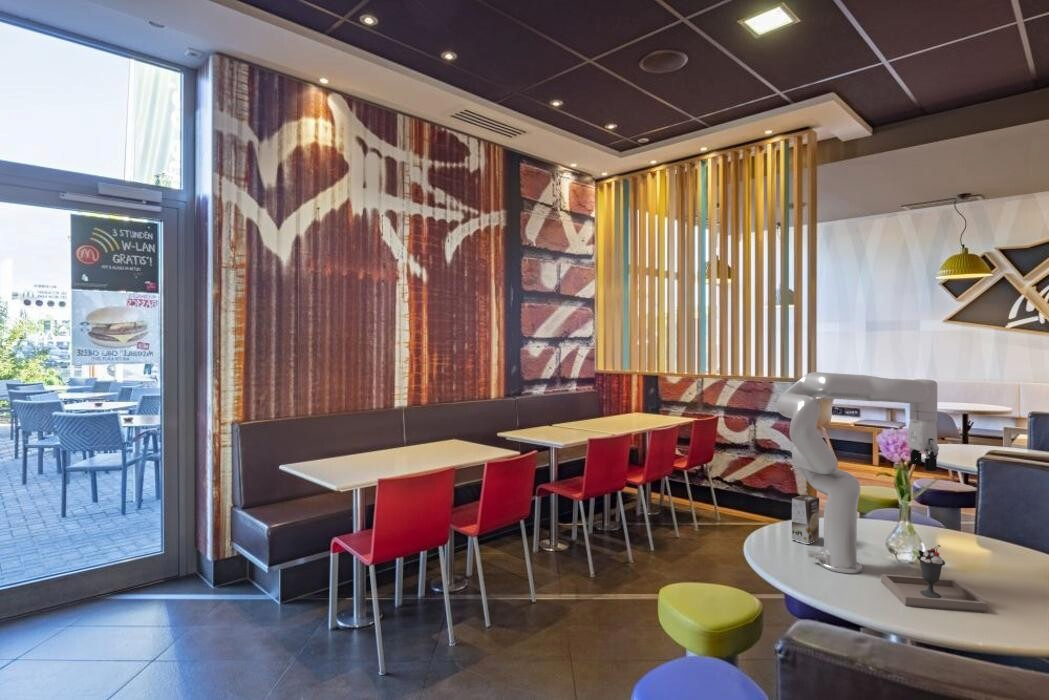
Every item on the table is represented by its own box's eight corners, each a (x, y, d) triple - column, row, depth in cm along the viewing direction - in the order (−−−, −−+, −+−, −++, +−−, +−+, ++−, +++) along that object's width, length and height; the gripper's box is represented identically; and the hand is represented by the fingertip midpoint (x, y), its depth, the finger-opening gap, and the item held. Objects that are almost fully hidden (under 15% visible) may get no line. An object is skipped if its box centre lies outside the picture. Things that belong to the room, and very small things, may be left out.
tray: (905, 606, 156) (905, 597, 156) (881, 582, 172) (881, 574, 172) (987, 612, 152) (987, 603, 152) (954, 587, 168) (954, 579, 168)
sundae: (950, 600, 158) (950, 548, 158) (923, 598, 159) (923, 546, 159) (937, 590, 164) (938, 540, 164) (912, 588, 166) (912, 538, 166)
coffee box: (808, 545, 203) (808, 501, 203) (791, 540, 208) (791, 498, 208) (819, 540, 209) (819, 497, 209) (802, 535, 214) (802, 493, 214)
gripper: (898, 413, 195) (898, 461, 195) (923, 419, 178) (923, 472, 178) (922, 413, 194) (922, 462, 194) (950, 420, 177) (950, 473, 177)
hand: (923, 467), depth 186 cm, fingers open, 9 cm apart
